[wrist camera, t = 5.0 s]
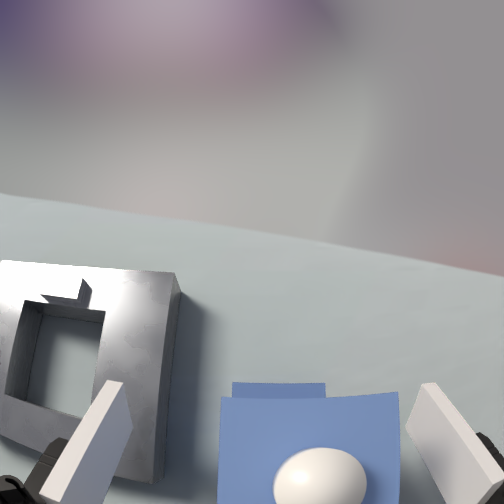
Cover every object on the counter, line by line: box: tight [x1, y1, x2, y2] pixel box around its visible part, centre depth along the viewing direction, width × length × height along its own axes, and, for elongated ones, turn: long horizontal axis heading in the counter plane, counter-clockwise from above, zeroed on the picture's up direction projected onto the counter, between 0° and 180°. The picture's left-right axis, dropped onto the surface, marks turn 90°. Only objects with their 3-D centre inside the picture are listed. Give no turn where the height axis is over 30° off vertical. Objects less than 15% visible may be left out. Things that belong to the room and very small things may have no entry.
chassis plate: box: [0, 260, 181, 484], centre depth 16 cm, size 14×12×3 cm
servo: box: [217, 382, 400, 504], centre depth 10 cm, size 4×8×12 cm, turn 178°
